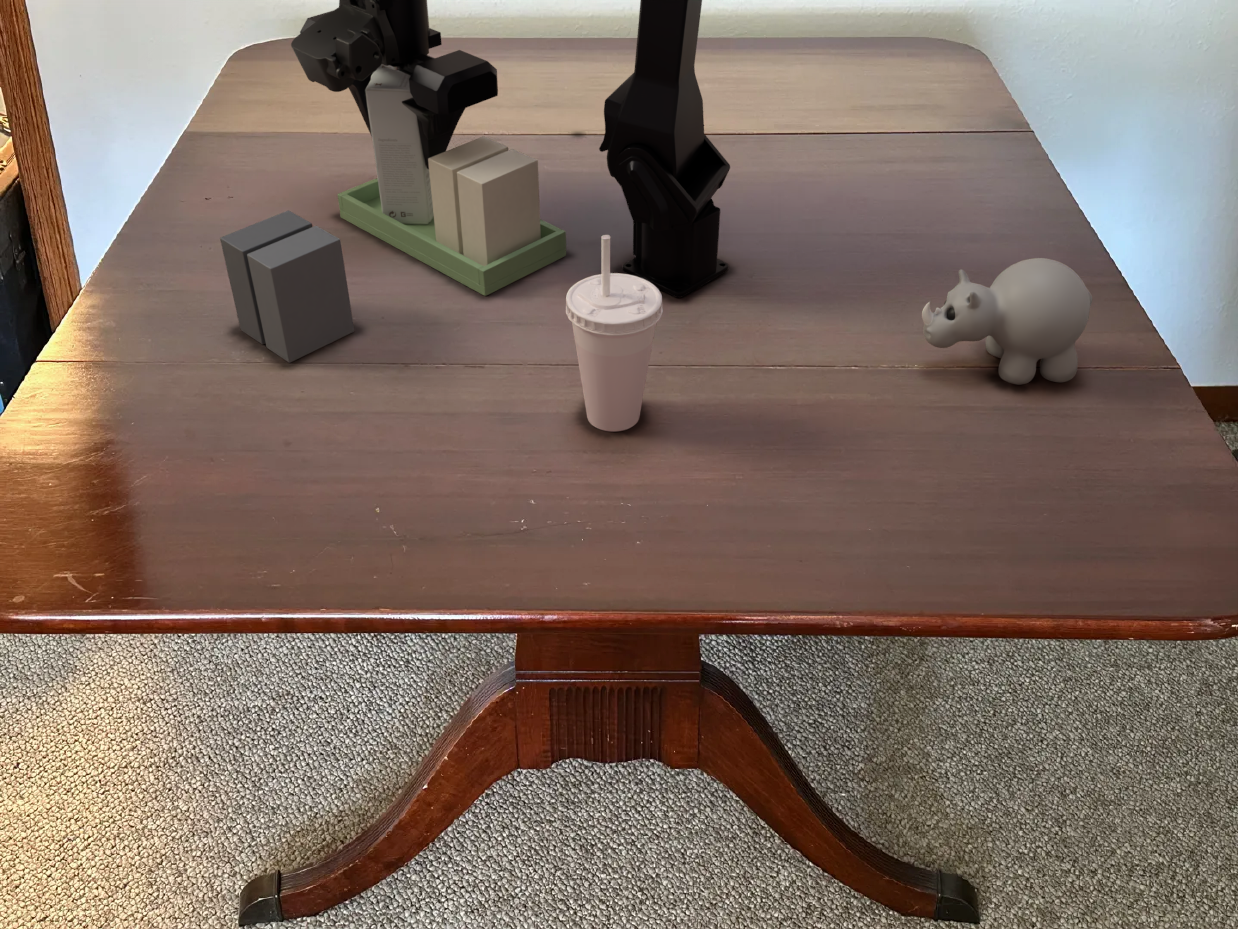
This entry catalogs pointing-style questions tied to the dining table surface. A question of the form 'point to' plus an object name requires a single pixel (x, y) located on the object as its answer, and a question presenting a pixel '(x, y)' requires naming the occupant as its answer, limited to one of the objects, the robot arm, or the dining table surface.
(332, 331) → the grey books
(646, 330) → the smoothie
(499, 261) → the green tray
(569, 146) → the dining table surface
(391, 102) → the cosmetic box
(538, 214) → the cream books
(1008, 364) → the toy rhinoceros
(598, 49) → the dining table surface
